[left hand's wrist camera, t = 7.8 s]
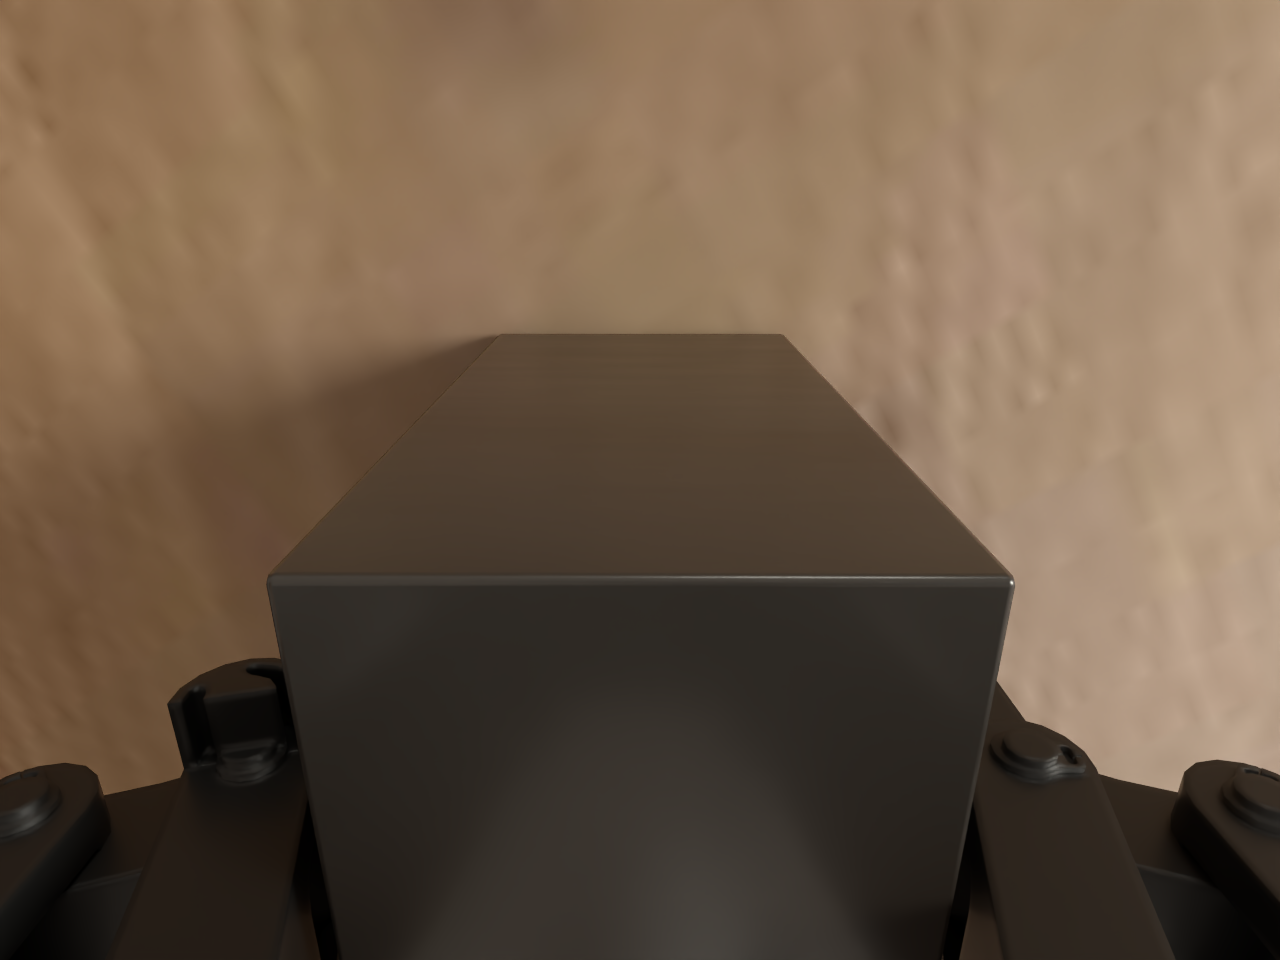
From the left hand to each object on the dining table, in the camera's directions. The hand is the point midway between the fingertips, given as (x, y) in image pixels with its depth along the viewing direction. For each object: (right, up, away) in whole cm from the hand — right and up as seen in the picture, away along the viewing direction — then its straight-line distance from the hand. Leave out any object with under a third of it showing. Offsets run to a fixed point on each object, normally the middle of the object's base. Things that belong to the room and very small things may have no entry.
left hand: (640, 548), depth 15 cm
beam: (0, -12, +5) cm, 13 cm away
